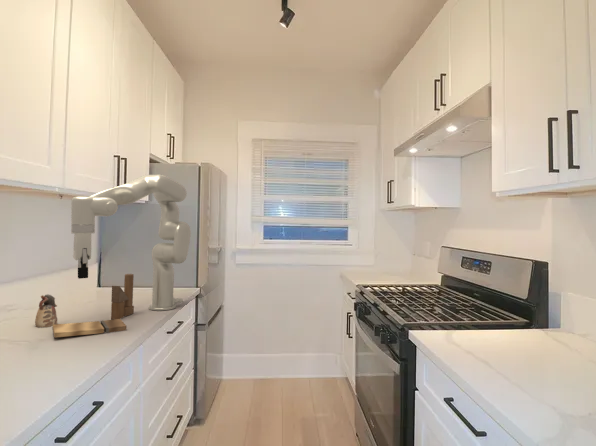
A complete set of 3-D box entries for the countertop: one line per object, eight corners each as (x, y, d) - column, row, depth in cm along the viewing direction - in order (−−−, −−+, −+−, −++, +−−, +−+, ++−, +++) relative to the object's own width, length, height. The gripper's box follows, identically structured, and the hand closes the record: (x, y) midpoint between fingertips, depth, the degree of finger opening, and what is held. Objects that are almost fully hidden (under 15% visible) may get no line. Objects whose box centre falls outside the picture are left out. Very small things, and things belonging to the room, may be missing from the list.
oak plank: (98, 324, 137) (99, 321, 137) (103, 332, 128) (104, 328, 128) (52, 328, 128) (52, 324, 128) (54, 337, 119) (54, 333, 119)
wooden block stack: (110, 319, 147) (112, 276, 147) (126, 313, 157) (128, 273, 157) (118, 319, 146) (120, 277, 146) (134, 313, 157) (135, 273, 157)
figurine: (61, 323, 138) (62, 293, 138) (43, 328, 131) (44, 296, 131) (49, 321, 140) (50, 292, 141) (30, 326, 134) (31, 295, 134)
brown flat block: (119, 322, 142) (119, 318, 142) (126, 330, 132) (126, 325, 132) (100, 325, 138) (100, 320, 138) (105, 333, 128) (105, 328, 128)
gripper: (69, 228, 134) (69, 275, 135) (73, 230, 122) (73, 282, 123) (91, 228, 139) (91, 274, 139) (97, 230, 127) (97, 280, 127)
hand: (82, 277), depth 131 cm, fingers closed
